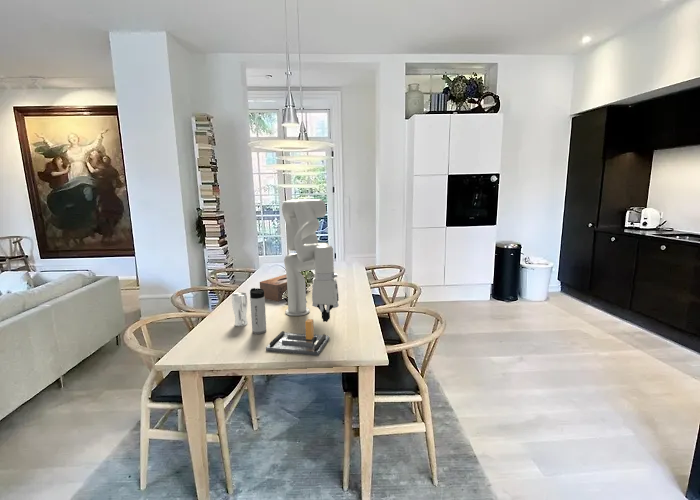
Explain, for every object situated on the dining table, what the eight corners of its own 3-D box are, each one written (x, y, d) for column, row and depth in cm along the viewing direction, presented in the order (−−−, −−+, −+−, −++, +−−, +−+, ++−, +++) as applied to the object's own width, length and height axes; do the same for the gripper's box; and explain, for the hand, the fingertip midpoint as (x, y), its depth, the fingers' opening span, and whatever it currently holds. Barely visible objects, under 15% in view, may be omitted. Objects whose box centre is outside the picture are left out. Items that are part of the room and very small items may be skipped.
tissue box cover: (277, 302, 211) (277, 285, 209) (260, 298, 219) (259, 282, 217) (306, 291, 232) (306, 276, 230) (290, 288, 240) (289, 273, 238)
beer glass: (233, 322, 179) (231, 293, 176) (247, 320, 181) (246, 291, 179) (234, 327, 172) (231, 297, 170) (249, 325, 175) (247, 295, 172)
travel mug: (260, 327, 172) (257, 286, 168) (269, 331, 167) (266, 289, 164) (249, 331, 167) (246, 289, 163) (257, 335, 163) (255, 292, 159)
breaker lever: (308, 339, 153) (307, 318, 152) (314, 340, 152) (314, 319, 151) (305, 343, 150) (304, 321, 148) (312, 343, 149) (311, 322, 147)
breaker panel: (281, 335, 163) (281, 328, 162) (329, 339, 158) (329, 332, 157) (266, 350, 147) (265, 343, 147) (318, 355, 142) (317, 348, 142)
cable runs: (282, 333, 161) (282, 330, 161) (326, 336, 156) (326, 333, 156) (269, 346, 148) (268, 342, 148) (316, 350, 144) (316, 347, 143)
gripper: (345, 274, 147) (346, 318, 149) (309, 273, 150) (311, 316, 153) (340, 279, 139) (341, 325, 142) (303, 278, 143) (305, 322, 145)
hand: (325, 320), depth 147 cm, fingers closed
